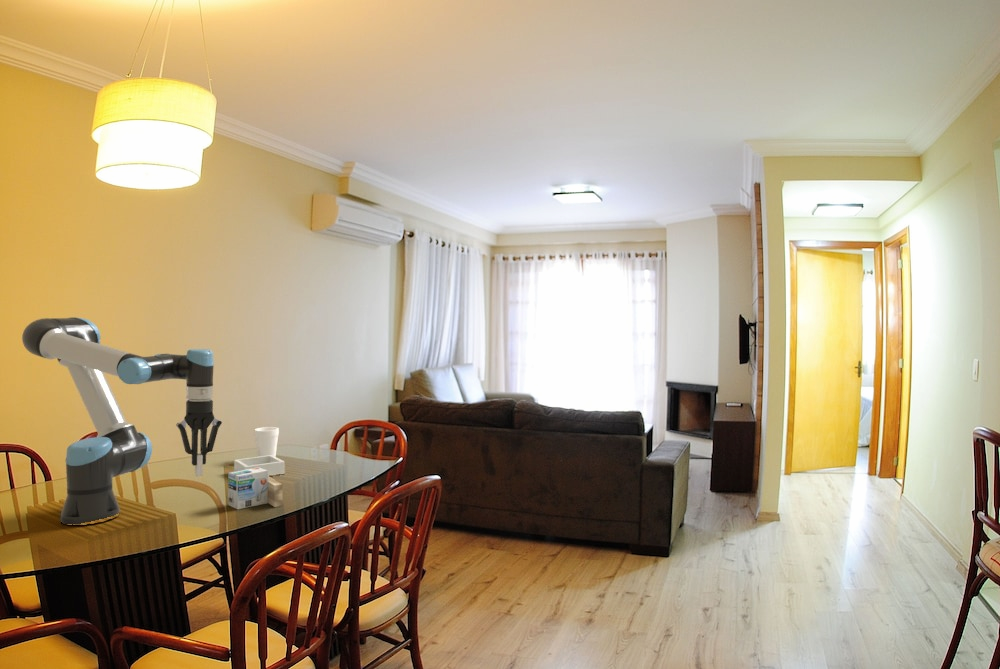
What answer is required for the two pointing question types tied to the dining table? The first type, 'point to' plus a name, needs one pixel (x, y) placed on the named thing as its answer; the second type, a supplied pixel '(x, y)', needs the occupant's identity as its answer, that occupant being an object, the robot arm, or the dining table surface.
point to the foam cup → (266, 440)
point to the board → (274, 492)
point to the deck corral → (261, 464)
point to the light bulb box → (248, 488)
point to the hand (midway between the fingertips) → (198, 475)
